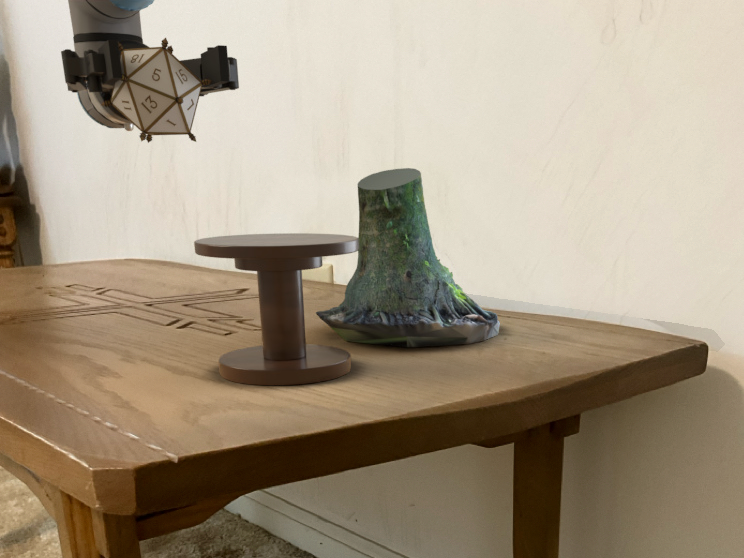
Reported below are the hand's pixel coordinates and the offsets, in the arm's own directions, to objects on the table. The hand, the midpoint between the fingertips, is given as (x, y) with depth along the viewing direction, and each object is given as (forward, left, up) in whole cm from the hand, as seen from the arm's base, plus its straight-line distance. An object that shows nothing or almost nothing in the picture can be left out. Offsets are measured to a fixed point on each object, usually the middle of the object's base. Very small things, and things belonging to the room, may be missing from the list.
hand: (171, 61), depth 71 cm
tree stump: (+5, +21, -24) cm, 32 cm away
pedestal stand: (+13, +3, -24) cm, 27 cm away
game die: (-5, 0, -6) cm, 8 cm away
